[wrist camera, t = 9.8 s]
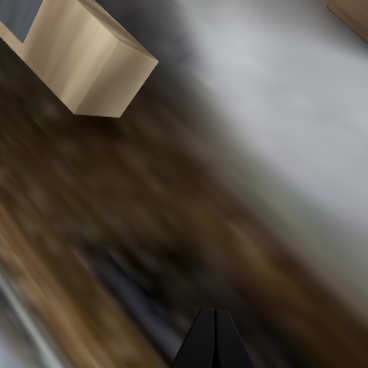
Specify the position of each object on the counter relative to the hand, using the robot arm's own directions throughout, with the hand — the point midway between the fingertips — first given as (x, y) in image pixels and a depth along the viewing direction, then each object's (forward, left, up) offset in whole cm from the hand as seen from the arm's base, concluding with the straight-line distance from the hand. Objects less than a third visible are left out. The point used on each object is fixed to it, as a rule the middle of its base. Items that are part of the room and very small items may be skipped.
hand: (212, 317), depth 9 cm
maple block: (+11, -5, -9) cm, 15 cm away
